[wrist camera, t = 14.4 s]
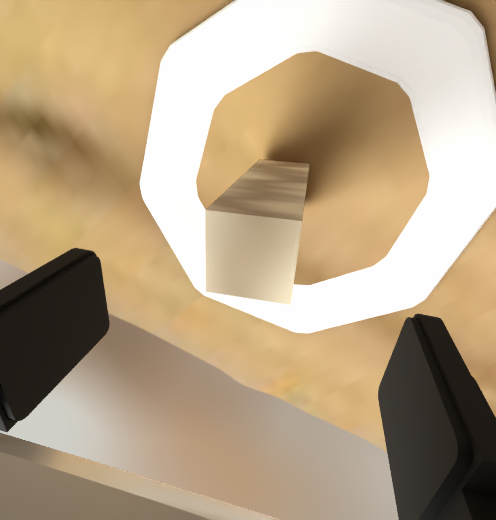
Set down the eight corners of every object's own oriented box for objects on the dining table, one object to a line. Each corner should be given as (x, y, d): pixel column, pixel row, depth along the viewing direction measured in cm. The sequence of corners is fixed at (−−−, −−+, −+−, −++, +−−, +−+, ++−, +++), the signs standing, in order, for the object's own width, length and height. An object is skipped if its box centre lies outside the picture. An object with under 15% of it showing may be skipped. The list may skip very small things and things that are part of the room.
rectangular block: (309, 163, 25) (302, 221, 13) (302, 212, 27) (290, 304, 14) (259, 159, 26) (205, 209, 13) (256, 207, 27) (205, 291, 15)
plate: (373, 355, 33) (375, 366, 32) (132, 258, 34) (125, 264, 33) (589, 65, 20) (608, 63, 19) (195, -86, 21) (187, -99, 20)
